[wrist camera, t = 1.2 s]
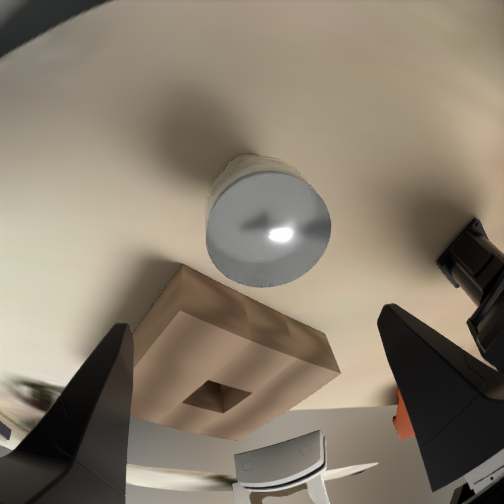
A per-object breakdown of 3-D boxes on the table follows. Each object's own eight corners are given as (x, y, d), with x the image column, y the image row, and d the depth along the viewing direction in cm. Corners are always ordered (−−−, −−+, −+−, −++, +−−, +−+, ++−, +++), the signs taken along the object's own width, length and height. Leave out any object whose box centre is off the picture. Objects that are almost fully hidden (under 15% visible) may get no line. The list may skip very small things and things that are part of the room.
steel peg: (306, 170, 20) (354, 223, 14) (255, 230, 22) (276, 303, 16) (240, 120, 18) (261, 149, 11) (188, 189, 20) (181, 253, 13)
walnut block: (325, 334, 30) (340, 373, 25) (232, 406, 35) (236, 440, 31) (182, 263, 23) (179, 310, 18) (110, 366, 28) (103, 406, 24)
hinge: (244, 461, 49) (243, 501, 40) (233, 448, 48) (230, 490, 39) (327, 436, 47) (336, 478, 38) (319, 422, 46) (329, 466, 37)
